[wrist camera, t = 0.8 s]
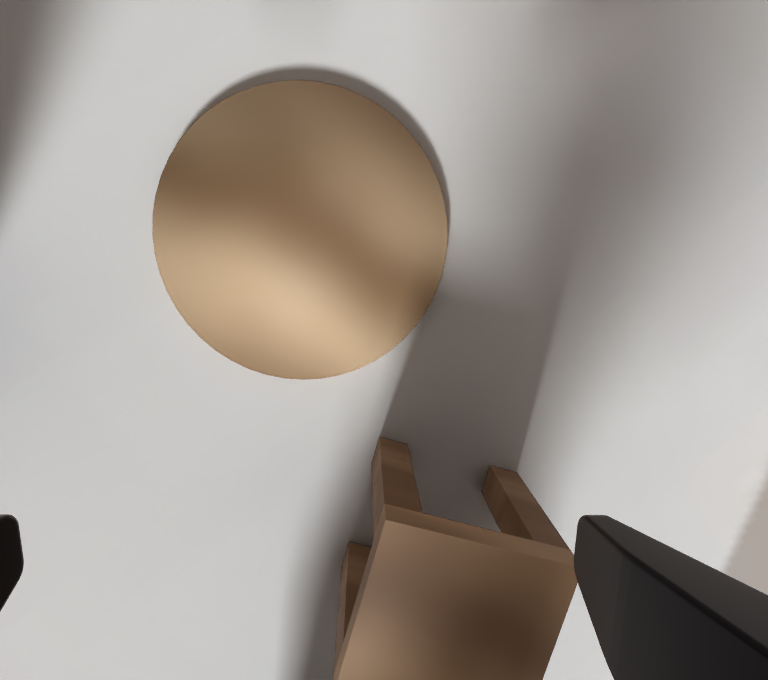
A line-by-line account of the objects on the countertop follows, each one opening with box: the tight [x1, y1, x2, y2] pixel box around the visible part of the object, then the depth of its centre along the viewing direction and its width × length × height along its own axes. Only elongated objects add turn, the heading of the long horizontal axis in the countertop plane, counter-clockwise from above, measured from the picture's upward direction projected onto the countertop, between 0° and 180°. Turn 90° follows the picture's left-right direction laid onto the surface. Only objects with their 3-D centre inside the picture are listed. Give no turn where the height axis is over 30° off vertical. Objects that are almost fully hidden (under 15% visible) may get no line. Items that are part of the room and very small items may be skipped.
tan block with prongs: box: [333, 437, 578, 680], centre depth 20 cm, size 6×6×7 cm
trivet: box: [153, 80, 448, 379], centre depth 21 cm, size 11×11×1 cm
